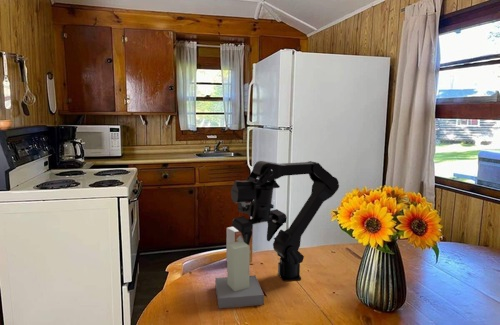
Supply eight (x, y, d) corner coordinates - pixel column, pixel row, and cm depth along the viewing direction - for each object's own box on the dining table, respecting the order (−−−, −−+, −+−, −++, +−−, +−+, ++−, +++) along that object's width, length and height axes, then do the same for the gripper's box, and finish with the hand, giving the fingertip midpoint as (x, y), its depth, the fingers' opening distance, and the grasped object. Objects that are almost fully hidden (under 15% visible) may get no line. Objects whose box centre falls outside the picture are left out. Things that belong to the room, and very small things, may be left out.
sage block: (242, 280, 109) (242, 240, 108) (249, 287, 105) (249, 245, 103) (227, 284, 107) (227, 243, 105) (234, 291, 102) (234, 248, 101)
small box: (234, 266, 127) (234, 231, 126) (226, 260, 133) (225, 227, 131) (253, 261, 132) (253, 228, 130) (244, 256, 137) (244, 223, 136)
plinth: (255, 284, 114) (255, 275, 113) (263, 304, 101) (263, 294, 100) (215, 287, 111) (215, 278, 111) (218, 308, 99) (218, 298, 98)
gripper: (269, 188, 124) (264, 228, 128) (224, 195, 113) (220, 238, 117) (290, 199, 115) (284, 241, 119) (244, 208, 104) (239, 254, 108)
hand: (257, 243), depth 116 cm, fingers open, 9 cm apart
